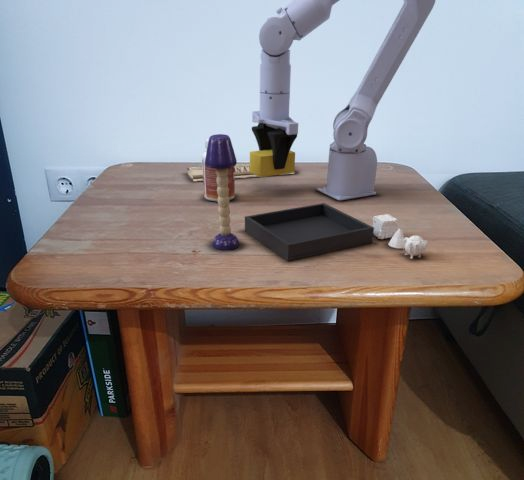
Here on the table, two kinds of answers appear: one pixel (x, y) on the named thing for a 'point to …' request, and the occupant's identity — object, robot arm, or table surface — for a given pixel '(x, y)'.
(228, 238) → the toy lamp
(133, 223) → the table surface
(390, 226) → the game pieces
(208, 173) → the pill bottle
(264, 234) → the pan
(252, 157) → the sponge
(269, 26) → the robot arm
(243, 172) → the newspaper
